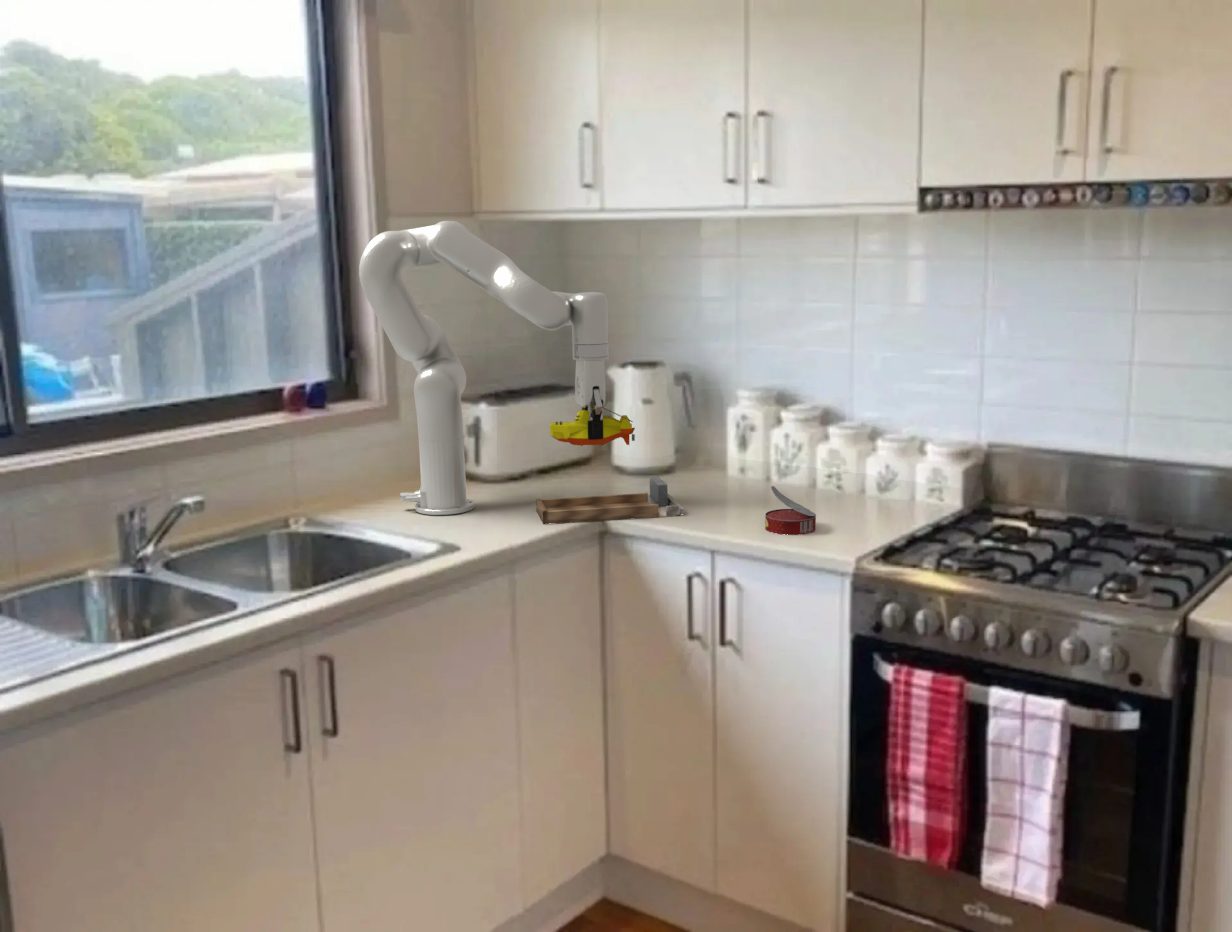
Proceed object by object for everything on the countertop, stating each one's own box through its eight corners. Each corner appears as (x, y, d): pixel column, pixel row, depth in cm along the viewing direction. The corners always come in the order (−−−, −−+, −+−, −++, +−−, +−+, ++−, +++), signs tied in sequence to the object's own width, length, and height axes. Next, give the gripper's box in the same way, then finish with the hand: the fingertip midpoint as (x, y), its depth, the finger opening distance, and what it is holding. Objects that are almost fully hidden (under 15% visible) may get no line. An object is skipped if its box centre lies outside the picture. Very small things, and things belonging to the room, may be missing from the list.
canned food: (780, 545, 243) (790, 498, 245) (822, 548, 236) (832, 499, 238) (747, 529, 236) (758, 480, 238) (789, 531, 228) (800, 481, 231)
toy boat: (635, 447, 254) (635, 400, 252) (549, 449, 253) (548, 402, 251) (634, 442, 260) (633, 396, 258) (550, 444, 260) (549, 397, 258)
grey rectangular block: (658, 505, 258) (658, 485, 257) (649, 496, 267) (649, 476, 266) (667, 505, 259) (667, 484, 258) (658, 496, 267) (658, 476, 267)
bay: (543, 524, 245) (542, 512, 244) (531, 502, 265) (531, 491, 264) (684, 515, 250) (684, 503, 249) (663, 494, 270) (663, 483, 269)
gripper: (565, 348, 260) (567, 431, 264) (580, 356, 244) (582, 444, 247) (599, 347, 262) (601, 429, 265) (617, 355, 245) (618, 442, 249)
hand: (592, 435), depth 256 cm, fingers closed on toy boat, 6 cm apart
